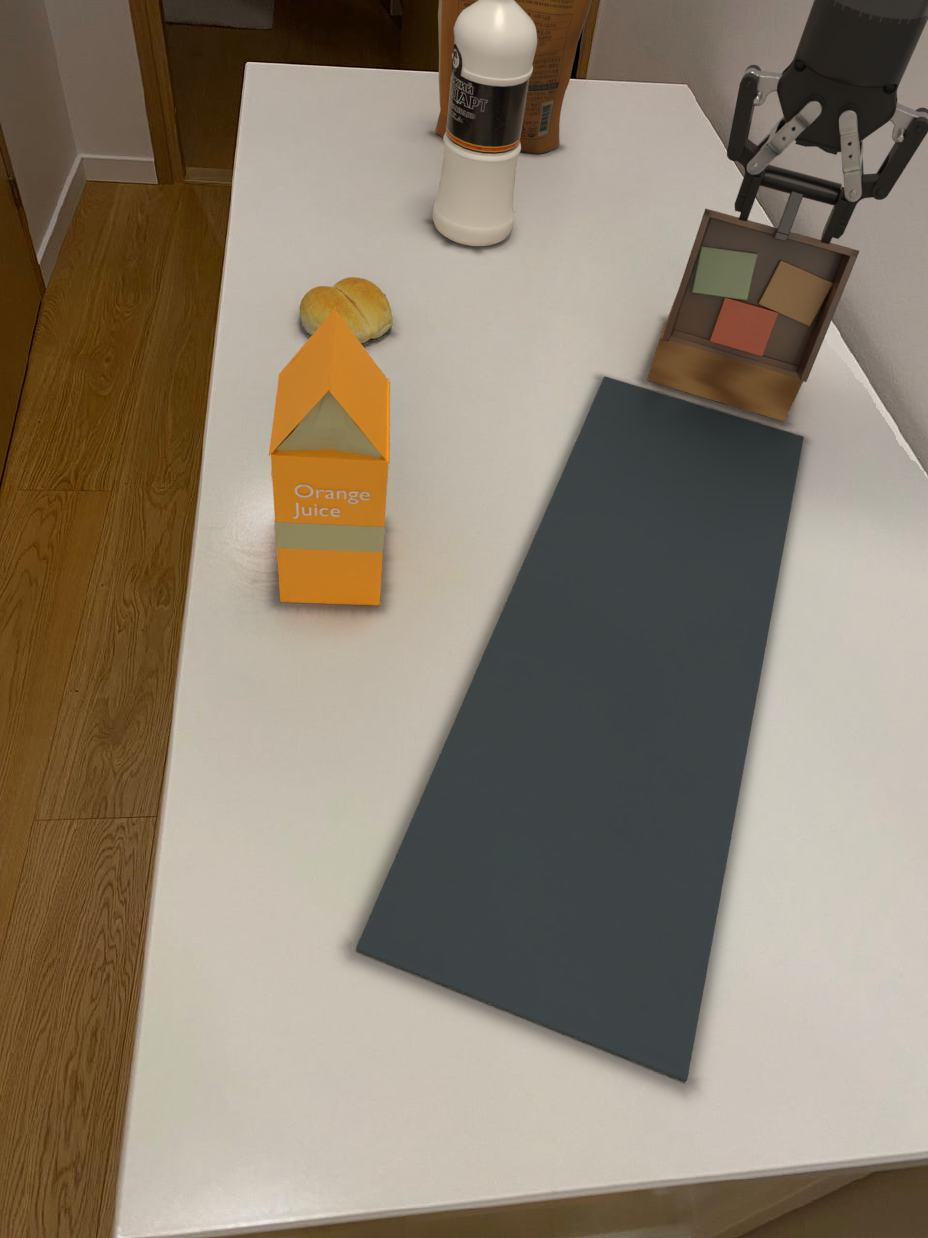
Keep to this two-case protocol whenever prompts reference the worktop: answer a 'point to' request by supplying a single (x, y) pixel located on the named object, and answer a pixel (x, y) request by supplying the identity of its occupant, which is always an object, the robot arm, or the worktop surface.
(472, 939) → the mat
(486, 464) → the worktop surface
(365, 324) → the bread roll
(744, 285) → the block
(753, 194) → the robot arm
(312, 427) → the orange juice
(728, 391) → the stand
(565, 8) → the pancake mix bag
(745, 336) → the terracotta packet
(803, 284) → the kraft packet
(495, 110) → the white bottle
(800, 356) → the wooden box with handle
